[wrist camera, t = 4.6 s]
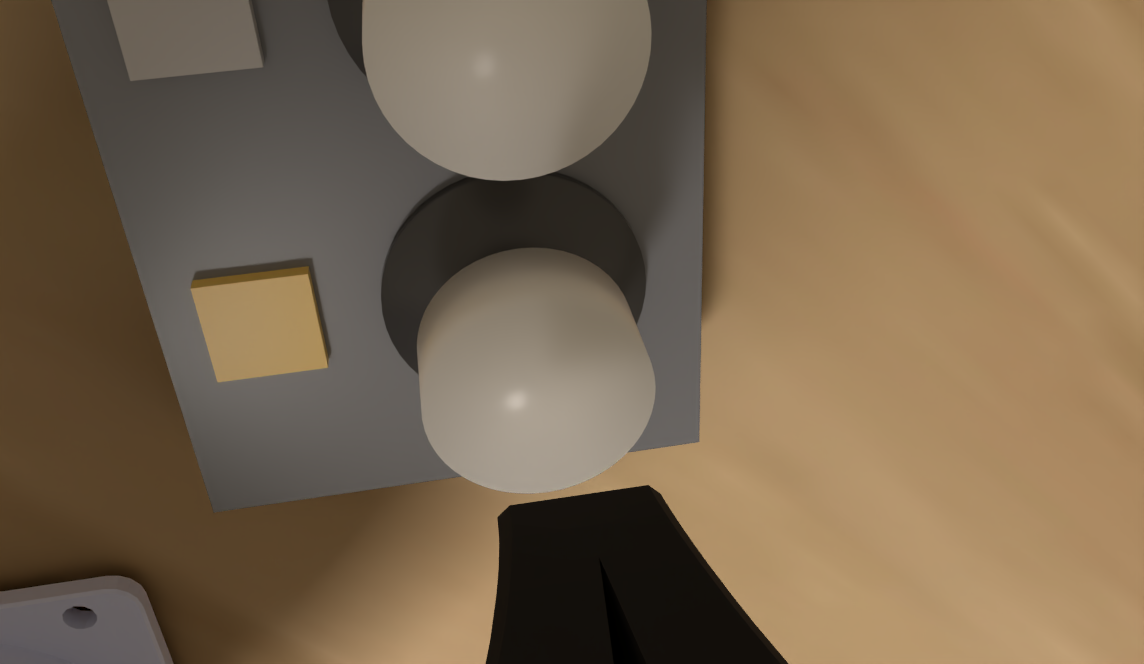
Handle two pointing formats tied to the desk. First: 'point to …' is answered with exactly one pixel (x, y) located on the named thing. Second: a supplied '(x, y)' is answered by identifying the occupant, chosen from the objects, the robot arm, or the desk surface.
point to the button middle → (505, 78)
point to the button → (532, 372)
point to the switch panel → (356, 230)
